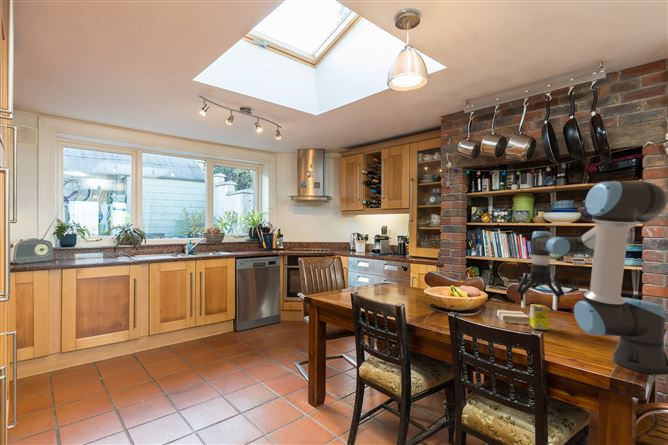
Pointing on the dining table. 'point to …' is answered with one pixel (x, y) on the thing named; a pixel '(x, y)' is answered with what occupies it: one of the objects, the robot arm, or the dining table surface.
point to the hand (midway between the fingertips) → (538, 308)
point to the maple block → (513, 317)
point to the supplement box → (539, 317)
